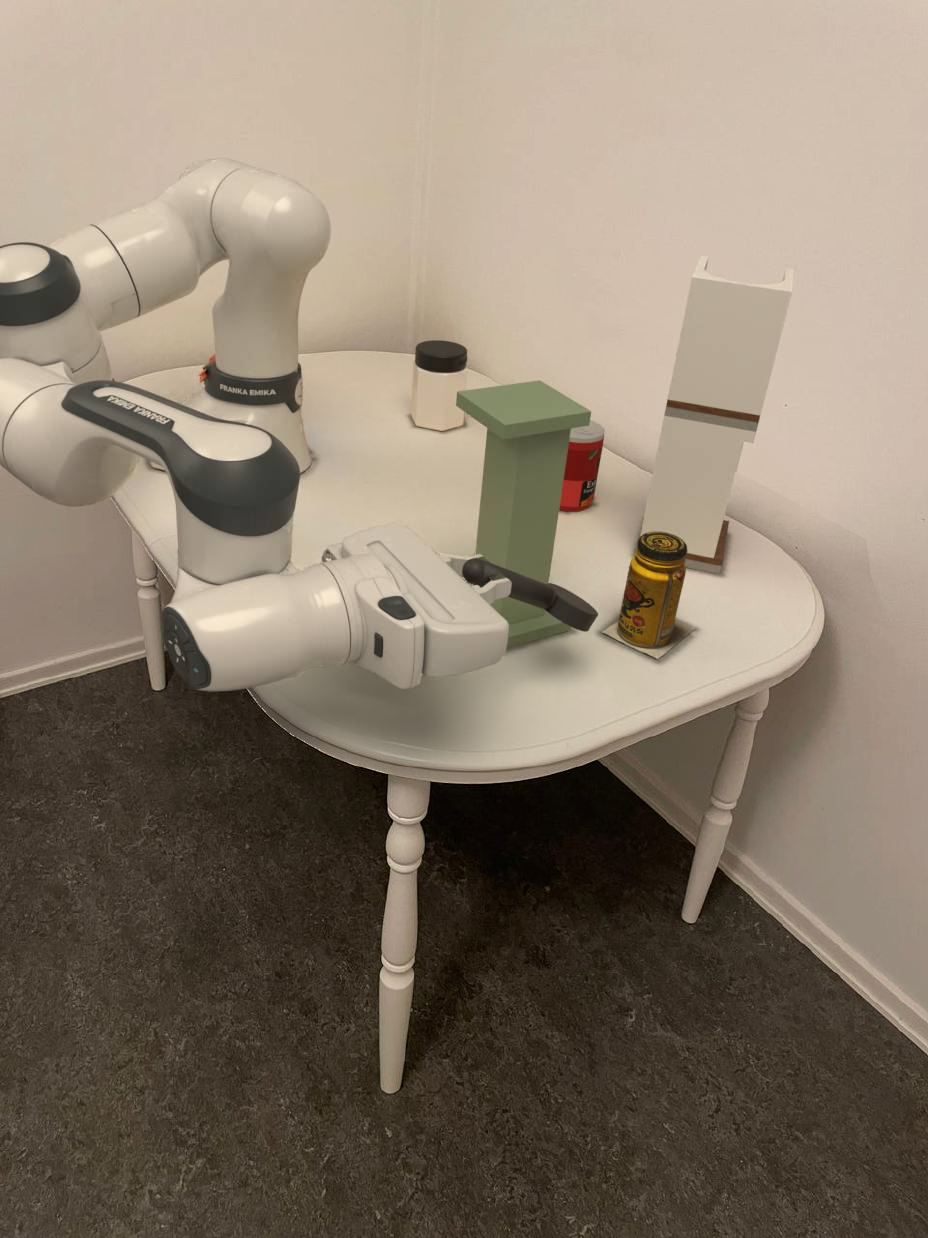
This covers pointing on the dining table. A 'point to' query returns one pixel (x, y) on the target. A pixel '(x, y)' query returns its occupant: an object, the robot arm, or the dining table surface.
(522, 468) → the stand
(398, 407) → the dining table surface
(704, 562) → the white channel column
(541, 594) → the dark grey paddle
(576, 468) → the canned food
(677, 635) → the condiment
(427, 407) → the jar
